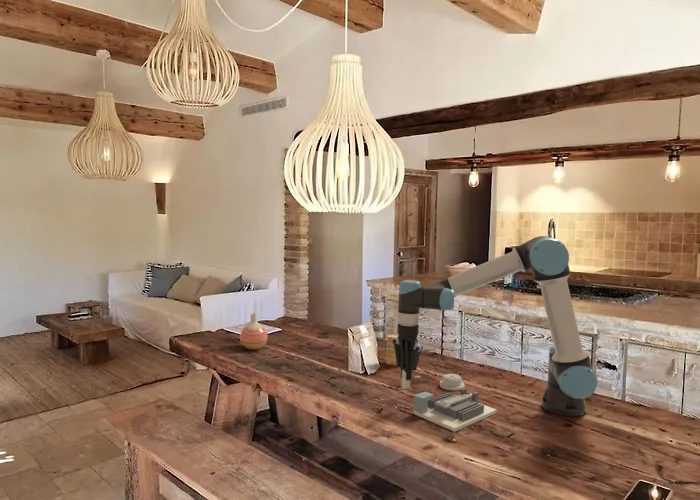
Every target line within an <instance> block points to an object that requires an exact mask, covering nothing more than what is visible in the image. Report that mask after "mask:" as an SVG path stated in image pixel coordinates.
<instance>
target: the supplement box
mask: <svg viewBox="0 0 700 500" xmlns="http://www.w3.org/2000/svg"><path fill="white" fill-rule="evenodd" d="M397 338H398V334H397V335H396V334H388V335H387V336H386V358H385V363H386V365H391V366H392V365H393V366H397V363H396V355H395V348H394V344H393V340H394V339H397Z"/></svg>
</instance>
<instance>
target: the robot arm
mask: <svg viewBox="0 0 700 500" xmlns="http://www.w3.org/2000/svg"><path fill="white" fill-rule="evenodd" d="M569 262H570V253H569V250H568V248H567V246H566V245H565V244H564V243H563V242H562V241H561V240H559V239H556V238H554V237H549V236H546V235H540V236H535V237H533V238H532V239H529V240H528V241H525V242H524V243H522V244H519V245H517V246H514V247H512V250H511V252H508V253H505V254H503V255H501V256H498V257H496V258H494V259H490V260H489V261H486V262H484V263H481V264H478V265H476V266H474V267H471V268H468V269H466V270H464V271H462V272H459V273H457V274H455V275H454V274H453V275H452V276H448V277H447V278H444V279H442V280H438V281H437V280H436V281H435V282H432V283H431V284H430V286H429V287H425V286H424V287H423V286H422V285H421V284H422V283H421V282H420V281H419V280H413V279H405V280H401V281H400V282H399V286H398V303H397V304H398V305H397V307H398V308H397V309H398V310H397V311H398V312H397V323H398V324H397V331H396V332H397V333H396V334H397V336H398V338H397V339H394V340H393V344H394V348H395V355H396V363H397V365H396V366H397V367H399V369H400V378H401V389H403V390H406V389H410V388H411V387H410V386H411V380H412V372H413V371H416V370H417V368H418V364H419V360H420V356H421V352H422V350H423V348H424V346H422V345H420V344H419V343H418V341H419V340H418V336H419V332H420V331H419V328H420V327H419V323H420V322H419V321H420V309H426V310H428V309H429V310H439V311H452V310H453V309H454V307H455V297H458V296H460V295H463V294H465V293H468V292H470V291H473V290H476V289H478V288H481V287H483V286H486V285H488V284H490V283H494V282H496V281H499V280H501V279H505V278H506V277H508V276H511V275H513V274H516V273H518V272H523V273H525V272H528V271H531V273H532V279H533V282H535V283H537V284H539V287H540V292H541V295H542V300H543V304H544V309H545V312H546V317H547V323H548V326H549V331H550V335H551V339H552V343H553V345H552V346H550V347H549V352H548V367H547V369H548V371H547V385H546V388H545V389H544V393H543V395H542V396H541V404H542V405H541V406H542V409H544V408H545V409H546V410H545V409H544V410H545V411H547V410H548V411H547V412H549V411H550V412H549V413H552V412H553V413H552V414H555V413H556V414H555V415H558V414H560V415H559V416H563V415H566V416H565V417H579V416H578V415H581V414H583V413H585V412H586V413H587V404H586V400H585V399H586V398H588V397H591V395H592V394H593V393H594V392H595V391H596V390H597V387H598V376H597V375H596V372H595V371H594V370H593V368H592V367H593V366H592V363H591V358H590V354H589V352H588V351H587V350H585V349H584V348H583V345H582V340H581V335H580V333H579V332H580V331H579V329H578V324H577V318H576V315H575V310H574V306H573V301H572V298H571V294H570V293H571V292H570V288H569V284H568V279H569V277H570V276H571V270H570V266H569ZM586 413H585V414H586ZM581 416H582V415H581Z"/></svg>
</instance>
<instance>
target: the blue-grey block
mask: <svg viewBox="0 0 700 500" xmlns="http://www.w3.org/2000/svg"><path fill="white" fill-rule="evenodd" d="M413 397H414V398H413V411H414V410H415V411H417V412H420V413H422V414H423V413H426V412H427V411H428V400H429V399H431V398H434V397H435V394H433V393H431V392H428V391H423V392H420V393H417V394H414V396H413Z"/></svg>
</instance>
